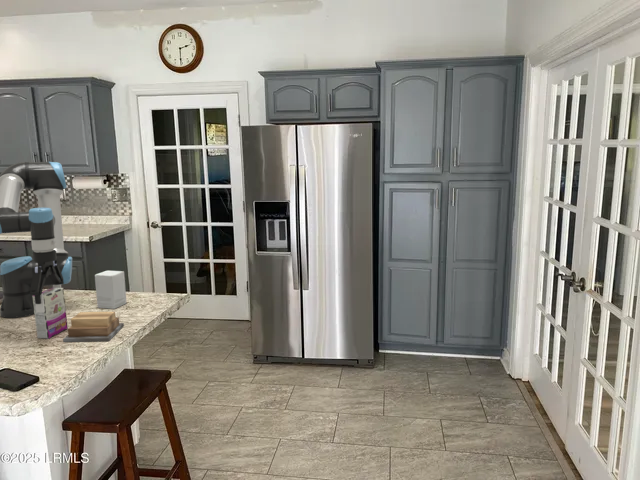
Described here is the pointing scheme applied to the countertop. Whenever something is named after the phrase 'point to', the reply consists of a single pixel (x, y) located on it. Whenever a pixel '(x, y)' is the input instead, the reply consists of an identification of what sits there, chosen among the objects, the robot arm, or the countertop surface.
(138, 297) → the countertop surface
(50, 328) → the candy bar box
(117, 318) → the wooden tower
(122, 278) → the supplement box
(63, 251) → the robot arm
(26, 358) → the countertop surface
